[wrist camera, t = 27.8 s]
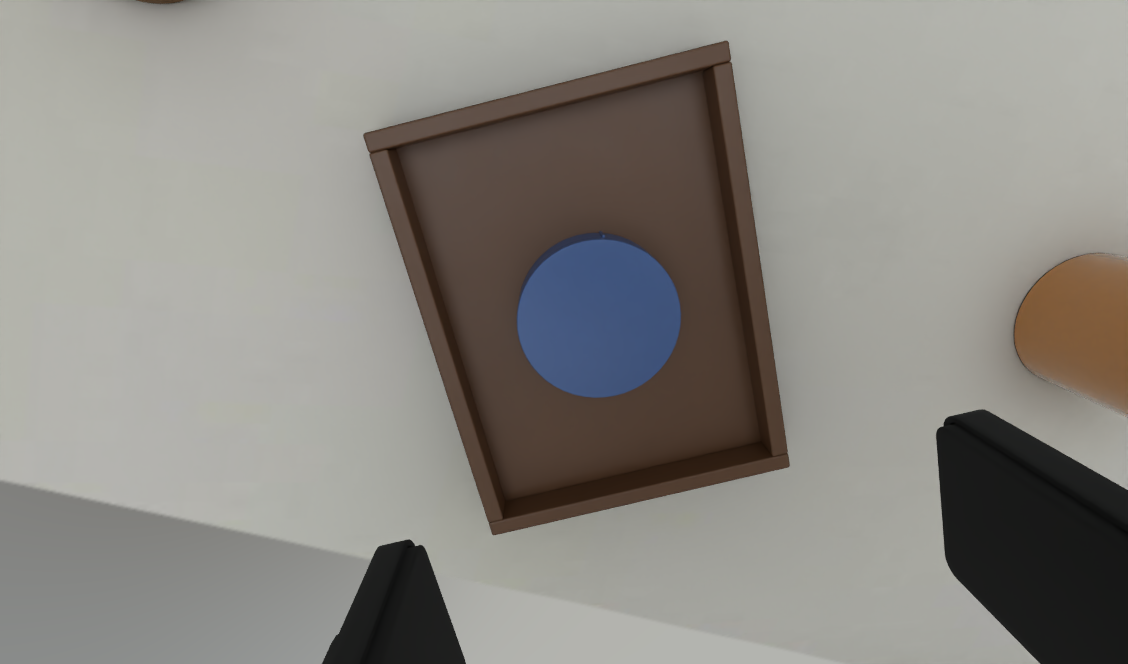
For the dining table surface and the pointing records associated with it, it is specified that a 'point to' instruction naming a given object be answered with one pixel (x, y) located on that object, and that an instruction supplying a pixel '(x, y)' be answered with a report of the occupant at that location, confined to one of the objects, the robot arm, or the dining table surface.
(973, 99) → the dining table surface
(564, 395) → the tray
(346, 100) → the dining table surface
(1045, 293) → the jar
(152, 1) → the mortar and pestle
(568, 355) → the lid
